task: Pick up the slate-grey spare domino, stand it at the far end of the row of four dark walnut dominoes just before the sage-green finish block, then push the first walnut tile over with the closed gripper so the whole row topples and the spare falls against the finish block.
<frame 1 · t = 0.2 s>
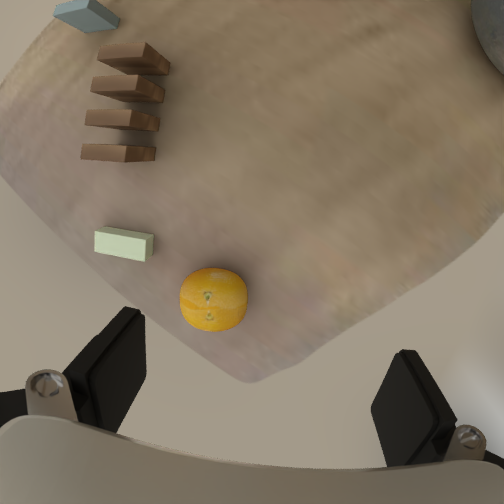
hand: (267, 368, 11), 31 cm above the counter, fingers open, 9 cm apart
domino 4: (135, 152, 39), on the counter
domino 3: (139, 123, 38), on the counter
finish block: (128, 240, 43), on the counter
domino 1: (149, 68, 35), on the counter
domino 2: (143, 95, 37), on the counter
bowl: (498, 44, 29), on the counter
domino 5: (102, 25, 33), on the counter
fruit: (219, 286, 44), on the counter
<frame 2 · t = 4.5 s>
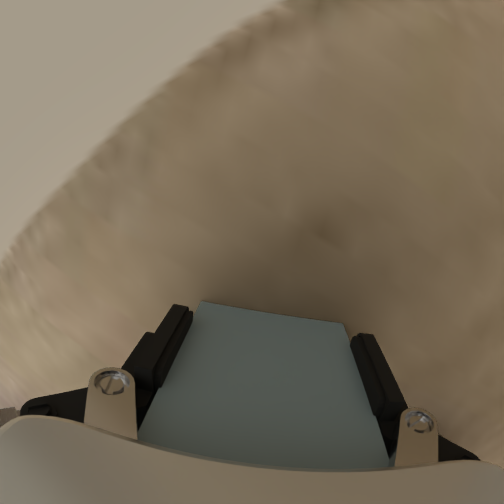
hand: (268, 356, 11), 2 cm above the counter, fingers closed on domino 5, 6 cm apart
domino 5: (269, 331, 13), on the counter, touching gripper
when the fingers open (2 cm above the counter, at t = 10.7 s): domino 5 stays where it is, on the counter.
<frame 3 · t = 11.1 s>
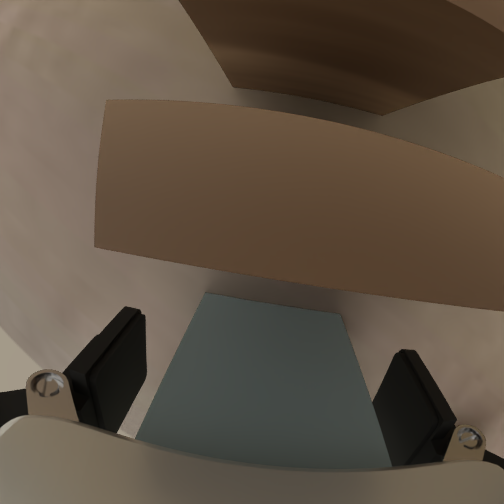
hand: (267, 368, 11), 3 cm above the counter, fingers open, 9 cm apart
domino 4: (297, 174, 12), on the counter
domino 3: (312, 77, 11), on the counter
domino 5: (270, 321, 14), on the counter
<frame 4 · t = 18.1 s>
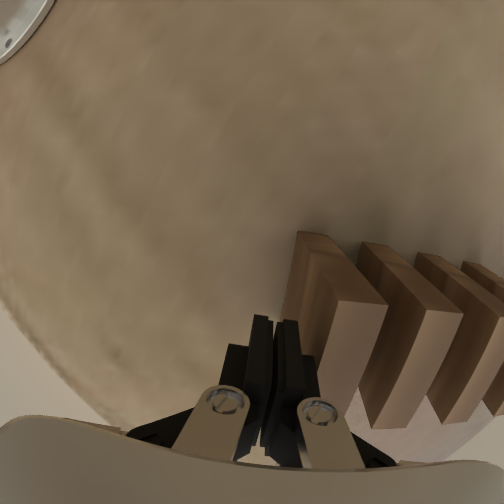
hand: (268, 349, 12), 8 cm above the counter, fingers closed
domino 4: (459, 301, 19), on the counter
domino 3: (416, 296, 19), on the counter
domino 1: (303, 280, 19), on the counter
domino 2: (363, 289, 19), on the counter
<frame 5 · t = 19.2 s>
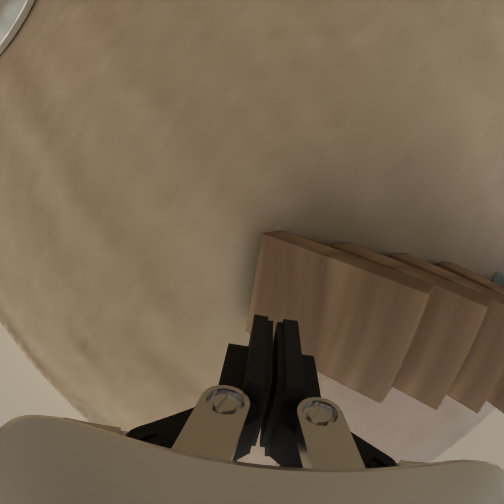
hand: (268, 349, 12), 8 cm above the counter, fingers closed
domino 4: (432, 304, 18), on the counter, tilted 29°, touching domino 3
domino 3: (385, 299, 18), point 1 cm above the counter, tilted 39°, touching domino 4
domino 1: (263, 281, 18), point 1 cm above the counter, tilted 53°
domino 2: (329, 291, 18), point 1 cm above the counter, tilted 46°
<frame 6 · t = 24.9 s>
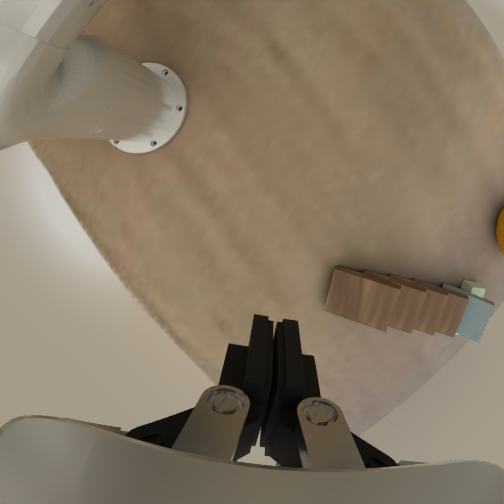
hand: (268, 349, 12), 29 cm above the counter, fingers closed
domino 4: (407, 299, 41), point 1 cm above the counter, tilted 63°, touching domino 3, domino 5
domino 3: (383, 295, 41), point 1 cm above the counter, tilted 63°, touching domino 2, domino 4
finish block: (461, 303, 41), on the counter
domino 1: (331, 288, 41), point 1 cm above the counter, tilted 63°, touching domino 2
domino 2: (358, 291, 41), point 1 cm above the counter, tilted 63°, touching domino 1, domino 3
domino 5: (437, 302, 41), point 1 cm above the counter, tilted 51°, touching domino 4, finish block
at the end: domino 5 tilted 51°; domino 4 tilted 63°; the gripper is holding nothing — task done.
